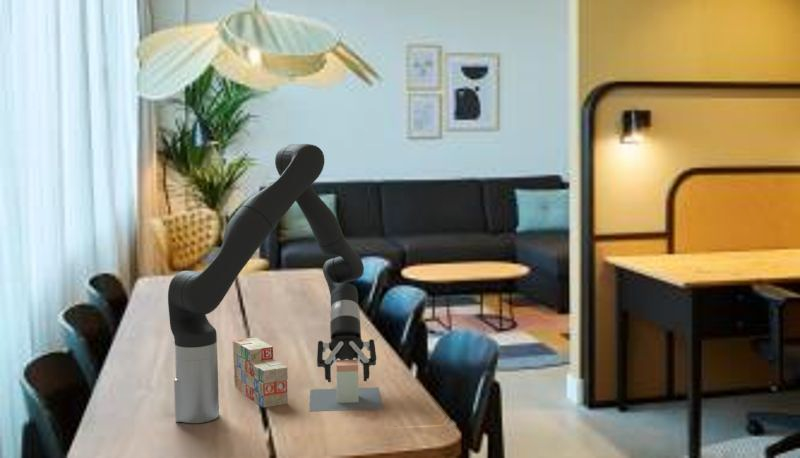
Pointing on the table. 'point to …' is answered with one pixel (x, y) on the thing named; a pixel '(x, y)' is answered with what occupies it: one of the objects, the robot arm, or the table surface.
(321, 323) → the table surface
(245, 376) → the stack of blocks
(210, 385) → the robot arm
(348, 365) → the sage block
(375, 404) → the charcoal mat
